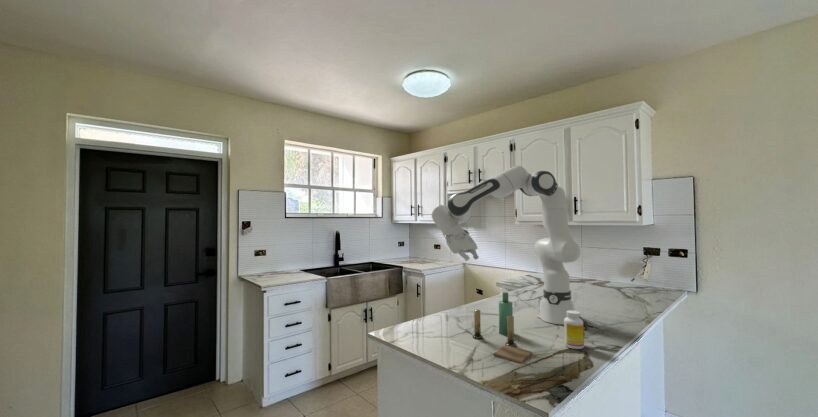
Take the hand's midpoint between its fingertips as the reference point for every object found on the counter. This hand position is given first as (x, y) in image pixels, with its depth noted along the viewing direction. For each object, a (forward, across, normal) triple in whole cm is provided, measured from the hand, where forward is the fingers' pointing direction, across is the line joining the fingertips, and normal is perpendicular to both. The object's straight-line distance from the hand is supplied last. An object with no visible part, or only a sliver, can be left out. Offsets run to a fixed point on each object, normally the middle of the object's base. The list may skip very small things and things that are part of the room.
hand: (472, 259), depth 147 cm
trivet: (+39, -17, +2) cm, 43 cm away
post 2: (+36, -9, +5) cm, 38 cm away
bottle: (+32, +4, +9) cm, 33 cm away
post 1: (+27, -8, +15) cm, 32 cm away
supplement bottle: (+49, +4, -10) cm, 50 cm away
